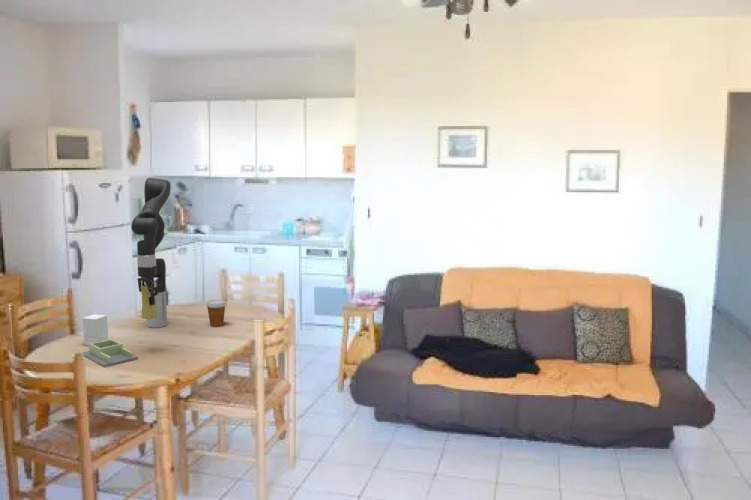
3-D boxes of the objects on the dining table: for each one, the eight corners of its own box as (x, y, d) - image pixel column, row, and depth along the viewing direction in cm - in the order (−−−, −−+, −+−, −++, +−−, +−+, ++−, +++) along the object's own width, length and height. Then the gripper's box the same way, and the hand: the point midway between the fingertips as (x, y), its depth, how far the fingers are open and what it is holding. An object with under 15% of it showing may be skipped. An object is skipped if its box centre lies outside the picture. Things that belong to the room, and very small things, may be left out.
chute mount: (81, 354, 279) (81, 343, 279) (114, 347, 289) (113, 336, 288) (104, 367, 264) (103, 355, 263) (137, 359, 274) (137, 347, 273)
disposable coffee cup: (202, 326, 324) (202, 302, 322) (214, 321, 332) (213, 298, 330) (219, 328, 320) (218, 304, 318) (230, 323, 329) (229, 300, 327)
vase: (143, 315, 285) (142, 283, 283) (158, 315, 286) (156, 283, 283) (140, 319, 279) (138, 286, 277) (154, 319, 280) (153, 286, 277)
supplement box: (109, 342, 297) (107, 315, 295) (97, 347, 290) (95, 319, 288) (95, 340, 299) (94, 313, 297) (83, 345, 292) (82, 317, 290)
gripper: (130, 263, 281) (132, 302, 284) (146, 268, 271) (148, 308, 274) (147, 261, 286) (148, 299, 289) (163, 266, 276) (165, 305, 279)
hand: (148, 303), depth 281 cm, fingers closed on vase, 5 cm apart
